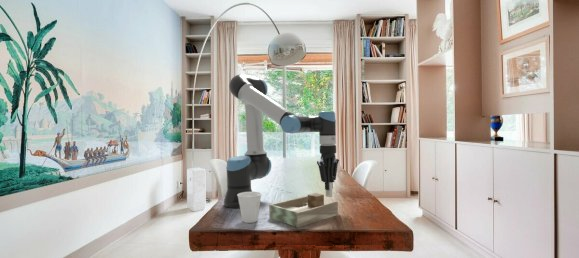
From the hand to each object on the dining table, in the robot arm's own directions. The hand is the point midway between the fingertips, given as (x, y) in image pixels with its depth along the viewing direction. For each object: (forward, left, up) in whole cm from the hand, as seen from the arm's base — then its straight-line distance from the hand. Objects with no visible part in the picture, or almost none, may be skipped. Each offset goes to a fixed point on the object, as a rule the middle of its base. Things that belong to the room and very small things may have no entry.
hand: (329, 196), depth 145 cm
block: (0, -9, -3) cm, 9 cm away
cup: (-11, -36, -6) cm, 38 cm away
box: (0, -16, -6) cm, 17 cm away
